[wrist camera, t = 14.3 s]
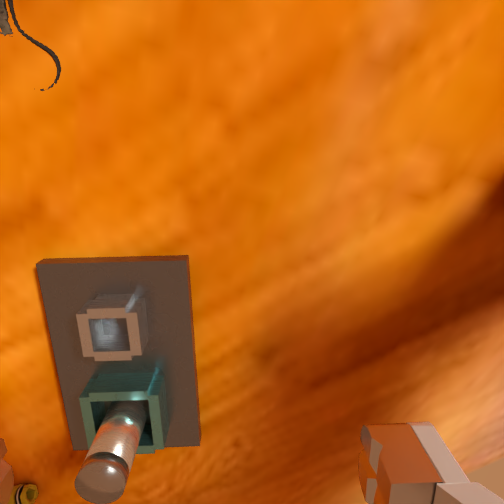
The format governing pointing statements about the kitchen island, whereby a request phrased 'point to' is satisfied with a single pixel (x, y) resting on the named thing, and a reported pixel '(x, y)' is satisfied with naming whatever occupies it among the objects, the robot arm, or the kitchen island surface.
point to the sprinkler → (23, 494)
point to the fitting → (112, 452)
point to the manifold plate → (124, 343)
